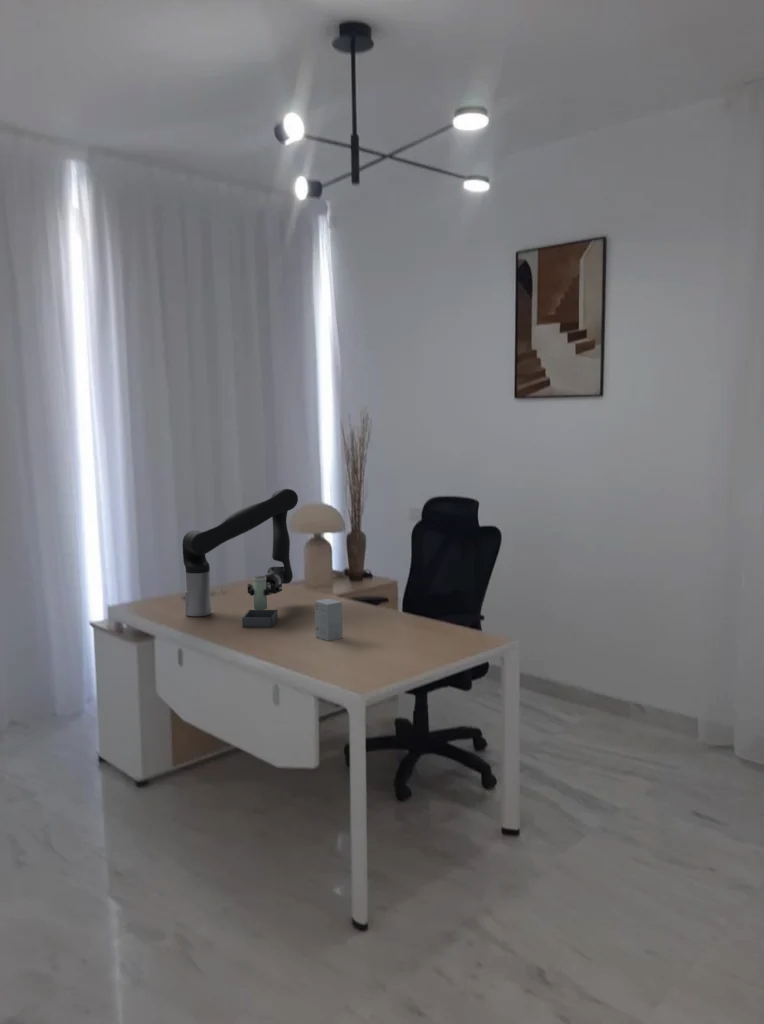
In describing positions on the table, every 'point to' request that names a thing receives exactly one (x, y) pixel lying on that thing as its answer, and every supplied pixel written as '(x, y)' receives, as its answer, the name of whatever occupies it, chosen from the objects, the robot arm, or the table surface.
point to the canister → (259, 592)
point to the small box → (328, 619)
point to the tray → (260, 618)
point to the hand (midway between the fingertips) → (258, 592)
